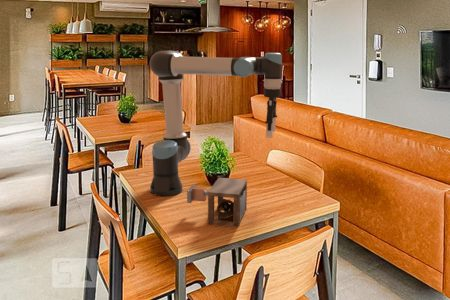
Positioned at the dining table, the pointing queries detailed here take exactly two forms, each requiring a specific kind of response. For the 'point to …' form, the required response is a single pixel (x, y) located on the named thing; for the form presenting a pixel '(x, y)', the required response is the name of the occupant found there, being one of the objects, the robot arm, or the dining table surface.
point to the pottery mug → (225, 209)
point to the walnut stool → (227, 189)
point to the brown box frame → (201, 194)
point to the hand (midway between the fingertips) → (270, 134)
